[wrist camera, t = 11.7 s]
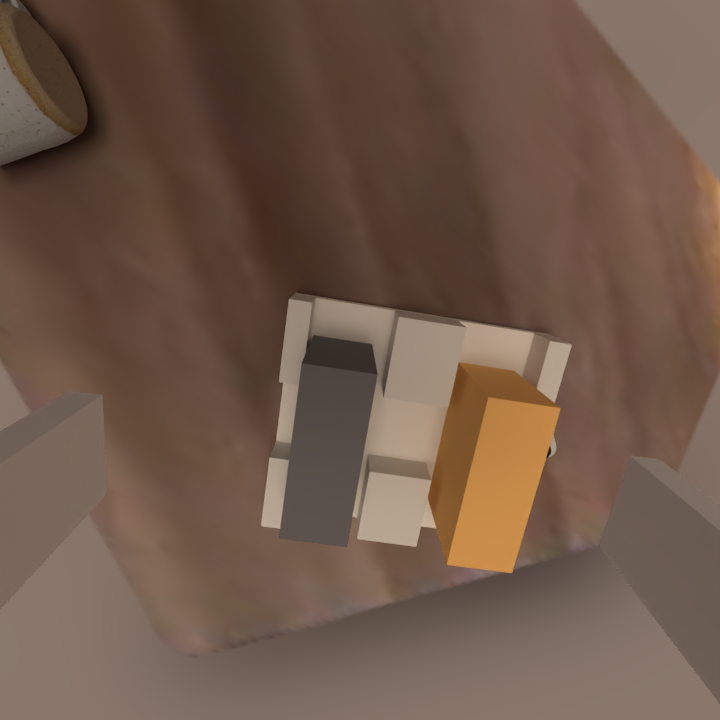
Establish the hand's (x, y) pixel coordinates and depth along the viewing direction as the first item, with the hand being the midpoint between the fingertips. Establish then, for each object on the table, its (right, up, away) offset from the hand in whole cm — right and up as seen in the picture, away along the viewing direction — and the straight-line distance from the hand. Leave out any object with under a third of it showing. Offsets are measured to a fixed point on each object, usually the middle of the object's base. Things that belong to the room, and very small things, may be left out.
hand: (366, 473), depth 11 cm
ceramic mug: (-23, +21, +19) cm, 37 cm away
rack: (+3, -2, +25) cm, 26 cm away
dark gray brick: (-2, -1, +24) cm, 24 cm away
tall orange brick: (+9, -3, +25) cm, 26 cm away
